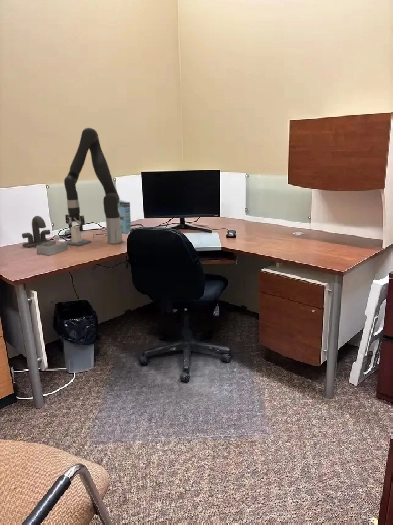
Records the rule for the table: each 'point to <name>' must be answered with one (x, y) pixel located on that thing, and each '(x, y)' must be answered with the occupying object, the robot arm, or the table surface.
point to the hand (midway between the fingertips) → (76, 230)
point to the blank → (76, 234)
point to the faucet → (36, 233)
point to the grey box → (51, 248)
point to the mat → (78, 242)
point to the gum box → (124, 216)
